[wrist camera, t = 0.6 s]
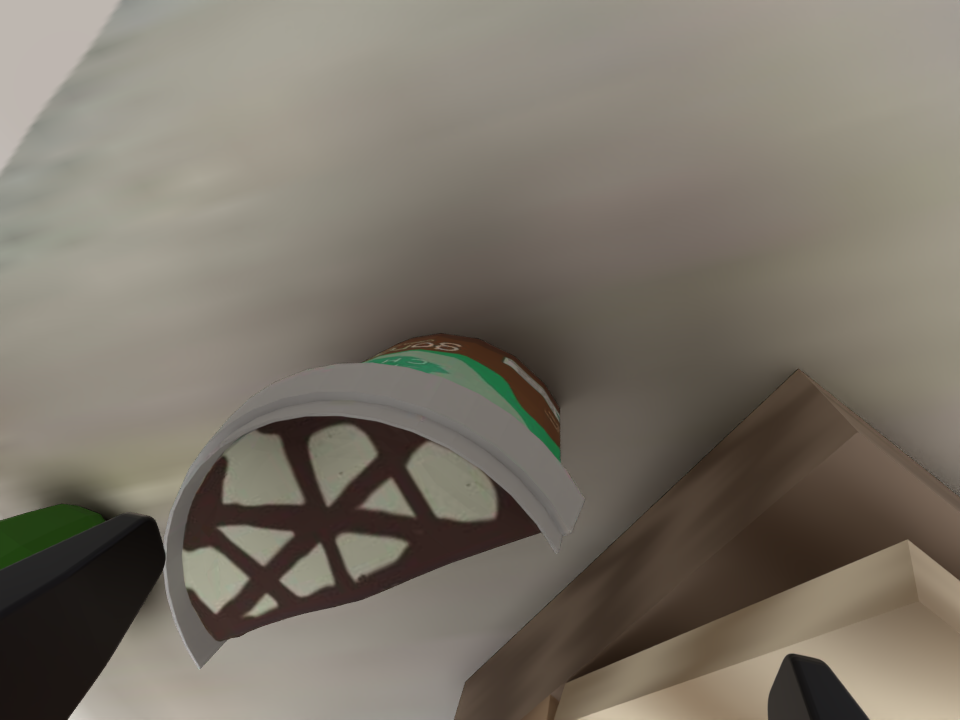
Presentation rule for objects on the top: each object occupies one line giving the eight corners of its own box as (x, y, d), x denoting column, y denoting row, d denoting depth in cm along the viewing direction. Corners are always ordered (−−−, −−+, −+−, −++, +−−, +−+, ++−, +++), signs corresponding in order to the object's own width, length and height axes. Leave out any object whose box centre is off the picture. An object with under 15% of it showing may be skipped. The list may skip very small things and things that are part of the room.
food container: (522, 245, 22) (451, 297, 12) (595, 393, 23) (580, 546, 13) (265, 377, 26) (62, 493, 16) (337, 499, 27) (185, 674, 17)
